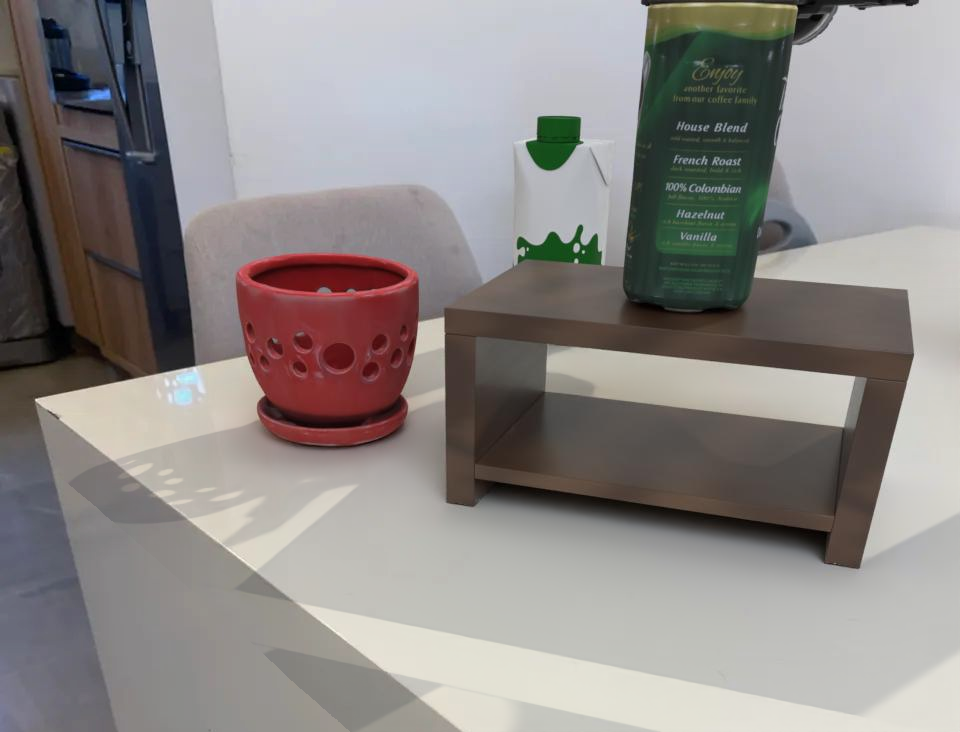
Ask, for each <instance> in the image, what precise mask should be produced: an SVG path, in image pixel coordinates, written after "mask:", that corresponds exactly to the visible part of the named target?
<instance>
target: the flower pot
mask: <svg viewBox="0 0 960 732" xmlns="http://www.w3.org/2000/svg"><path fill="white" fill-rule="evenodd" d="M419 283H420V281H419V275H418V273H417V272H416V271H415V270H414V269H413V268H412V267H410V266H408V265H406V264H403V263H402V262H398V261H395V260H392V259H387V258H383V257H378V256H371V255H366V254H365V255H364V254H353V253H340V252H339V253H337V252H299V253H288V254H281V255H280V254H279V255H273V256H269V257H264V258H260V259H257V260H253V261H251V262H248V263H246V264H244V265H243V266H241V267H240V268H239V269H238V270H237V272H236V274H235V291H236V293H235V294H236V303H237V310H238V317H239V321H240V325H241V330H242V335H243V341H244V349H245V352H246V357H247V360H248V363H249V365H250V368H251V370H252V373H253V375H254V378H255V380H256V382H257V384H258V385H259V387H260V389H261V390H262V392H263V393H264V395H263V396H262V397H261V398H260V399H259V400H258V401H257V403H256V413H257V416H258V418H259V420H260V421H261V423H262V425H263V426H264V427H265V428H266V429H267V430H269V431H270V432H271V433H272V434H273V435H276V436H277V437H279V438H282V439H284V440H287V441H289V442H293V443H297V444H302V445H310V446H317V447H347V446H355V445H356V446H357V445H361V444H364V443H369V442H373V441H376V440H378V439H381V438H384V437H386V436H388V435H390V434H391V433H393V432H394V431H396V430H397V429H398V428H399V427H400V426H401V425H402V424H403V423H404V421H405V420H406V418H407V415H408V412H409V404H408V401H407V399H406V398H405V397H404V396H403V395H402V392H403V390H404V388H405V386H406V384H407V382H408V378H409V376H410V373H411V370H412V366H413V363H414V357H415V352H416V346H417V339H418V330H419V317H420V315H419V314H420V284H419ZM322 288H323V289H324V288H326V289H328V290H329V291H330V292H321V291H320V292H319V290H320V289H322ZM349 290H353V291H349ZM300 333H301V334H300ZM299 334H300V335H299ZM274 340H277V341H276V342H275V341H274Z"/></svg>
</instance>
